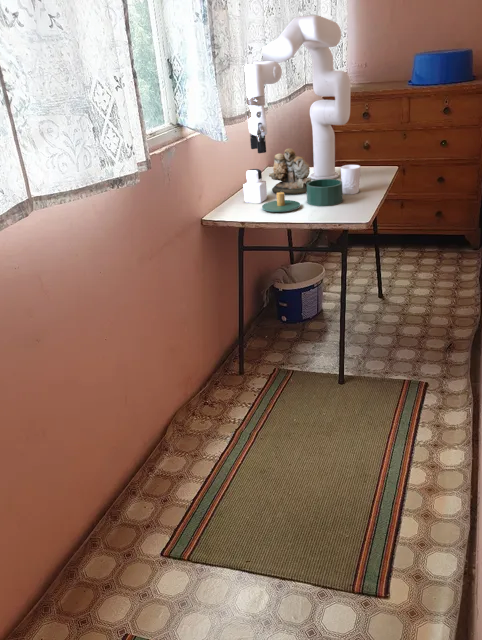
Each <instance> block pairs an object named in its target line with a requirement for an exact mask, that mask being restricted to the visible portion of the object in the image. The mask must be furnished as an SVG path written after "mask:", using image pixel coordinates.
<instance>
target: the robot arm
mask: <svg viewBox="0 0 482 640" xmlns="http://www.w3.org/2000/svg"><path fill="white" fill-rule="evenodd" d="M341 39H342V30H341V27H340V25H339V24H338V23H337V22H336V21H334V20H331V19H329V18H326V17H323V16H321V15H316V14H312V15H311V14H310V15H298V16H295V17H294V18H292V19H291V20H290V21H289V22H288V24H287V25H286V26H285V28H284V29H283V31H282V32H281V33H279V35H278V37H277V38H276V39H273V40H271V42H269V43H267V44H265V45H264V46H262V47H261V48H262V53H263V59H264V61H255V62H253V64H247V63H246V64H244V65H245V66H244V65H243V66H244V72H245V83H246V96H247V104H248V107H249V109H250V112H251V117H250V118H249V119H248V118H247V126H248V127H247V128H248V132H249V143H250V149H251V150H257V154H266V153H267V143H266V135H267V134H268V125H267V116H266V109H265V106H266V96H265V93H266V92H265V85H274V84H276V83H278V82H279V81H280V79H281V78H282V75H283V70H282V67H281V65H280V63H283V62H284V63H285V62H286V61H289V60H290V59H292V58H293V57H294V56H295V55H296V53H297V51H298V50H300V48H301V47H302V45H303V46H304V47H305V49H307V51H308V52H309V55H310V57H311V63H312V64H311V65H312V90H313V94H315V95H316V96H318V97H334V99H318V100H315V101H314V102H312V104H311V105H310V108H309V118H310V123H311V129H312V153H313V154H312V155H313V172H312V173H311V174H309V176H310V177H309V178H310V179H311V180H319V179H337V178H339V172H337V171H336V135H335V131H334V129H333V127H332V125H333V126H343V125H346V124H347V123H348V122H349V120H350V116H351V94H352V93H351V92H352V91H351V88H352V87H351V86H352V85H351V84H352V83H351V79H350V75H349V74H348V73H347V72H346V71H344V70H335V69H334V56H333V54H332V53H333V52H332V50H331V48H335V47H337V46H338V45H339V43H340V42H341ZM298 52H299V51H298ZM258 114H259V115H258Z"/></svg>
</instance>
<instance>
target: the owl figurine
mask: <svg viewBox="0 0 482 640" xmlns="http://www.w3.org/2000/svg"><path fill="white" fill-rule="evenodd" d="M273 162H274V163H273V167H272V171H273V172H271V173H268V177H269V178H271V180H273V181H279V182H278V183H276V184H275V185H273V187H272V188H271V191H272V193H273V194H276V195H277V193H278V192H284V195H285V196H295V195H297V196H298V195H305V194H307V185H306V184H307V183H308V182H310V181H312V179H311V178H310V177H309V176H310V171H311V169H310V164H309V163H308V162H306V160H305V158H304V156H298V155H296V151H295V150H294V149H293V148H290V147H288V148H286V149H285V150H284V152H283V154H282V153H277V154H275V155H274V159H273Z"/></svg>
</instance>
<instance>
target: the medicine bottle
mask: <svg viewBox="0 0 482 640" xmlns="http://www.w3.org/2000/svg"><path fill="white" fill-rule="evenodd" d="M245 176H246V182H245V183H243V185H242V187H243V188H242V189H243V200H244V203H248V204H249V203H251V204H261V203H263V202H265V201H266V200H267V199H268V192H267V181H266V180H263V175H262V170H261V169H259V168H250V169H248V170H246V172H245Z"/></svg>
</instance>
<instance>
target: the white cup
mask: <svg viewBox="0 0 482 640" xmlns="http://www.w3.org/2000/svg"><path fill="white" fill-rule="evenodd" d="M361 168H362V166H361V165H359V164H345V165H342V166H340V181H342V194H344V195H355V194H358V193H359V192H360V184H361Z"/></svg>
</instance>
